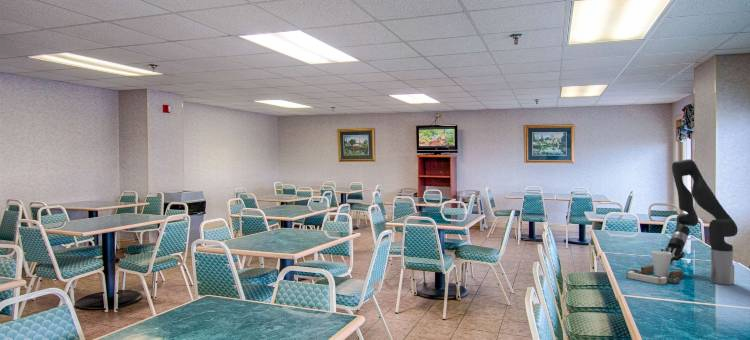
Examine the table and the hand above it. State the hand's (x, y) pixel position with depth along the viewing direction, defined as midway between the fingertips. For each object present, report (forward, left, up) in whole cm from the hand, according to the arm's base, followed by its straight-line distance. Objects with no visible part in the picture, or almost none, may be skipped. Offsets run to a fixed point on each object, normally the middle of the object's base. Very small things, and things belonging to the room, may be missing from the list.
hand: (667, 264), depth 266 cm
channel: (0, +7, -5) cm, 9 cm away
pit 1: (+9, +17, -5) cm, 20 cm away
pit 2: (-10, +17, -5) cm, 21 cm away
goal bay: (0, +24, -5) cm, 25 cm away
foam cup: (0, +7, -5) cm, 9 cm away
